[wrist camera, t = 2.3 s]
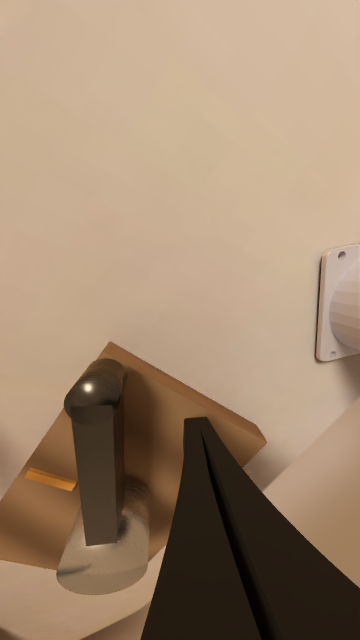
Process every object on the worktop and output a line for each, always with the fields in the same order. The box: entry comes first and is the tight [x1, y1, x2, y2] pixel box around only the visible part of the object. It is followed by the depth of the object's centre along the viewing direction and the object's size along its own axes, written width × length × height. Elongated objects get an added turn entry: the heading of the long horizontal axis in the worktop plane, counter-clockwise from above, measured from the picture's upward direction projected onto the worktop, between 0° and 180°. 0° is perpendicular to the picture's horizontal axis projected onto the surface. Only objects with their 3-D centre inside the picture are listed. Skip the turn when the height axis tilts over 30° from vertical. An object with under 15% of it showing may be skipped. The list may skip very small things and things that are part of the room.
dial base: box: [0, 342, 267, 570], centre depth 13 cm, size 20×14×2 cm
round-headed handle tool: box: [56, 358, 151, 595], centre depth 10 cm, size 15×5×3 cm, turn 176°
